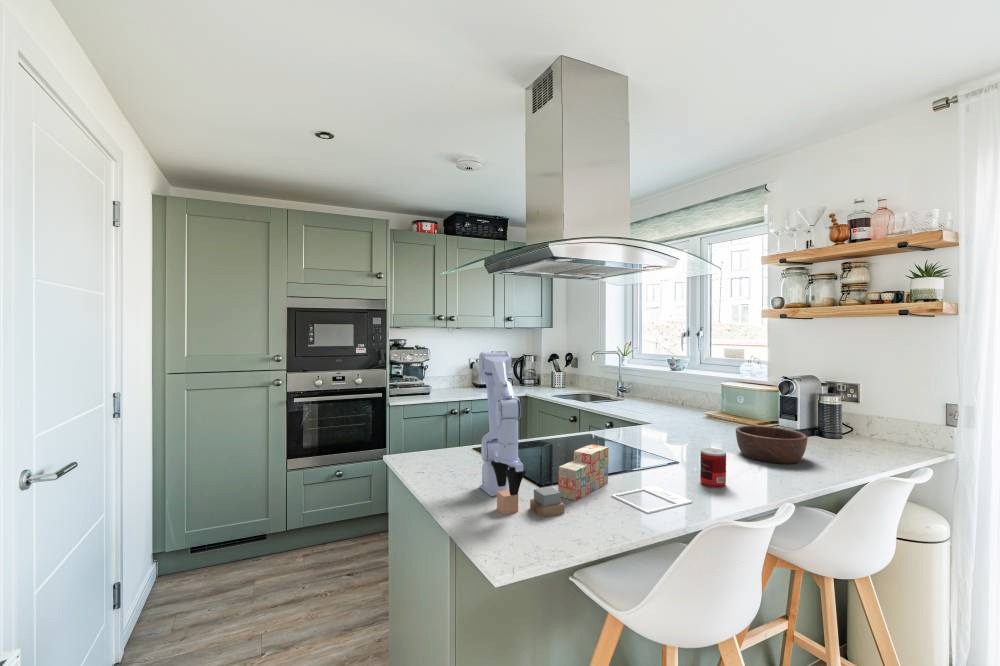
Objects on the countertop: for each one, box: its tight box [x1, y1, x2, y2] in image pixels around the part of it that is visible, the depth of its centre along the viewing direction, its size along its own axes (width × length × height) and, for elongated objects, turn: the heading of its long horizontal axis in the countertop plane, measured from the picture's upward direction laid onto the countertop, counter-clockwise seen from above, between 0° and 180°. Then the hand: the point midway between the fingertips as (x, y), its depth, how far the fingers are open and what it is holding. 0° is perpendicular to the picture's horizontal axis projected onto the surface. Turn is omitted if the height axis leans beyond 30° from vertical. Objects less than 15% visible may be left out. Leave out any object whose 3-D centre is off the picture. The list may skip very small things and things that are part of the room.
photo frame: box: [611, 485, 693, 515], centre depth 138 cm, size 15×1×18 cm
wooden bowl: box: [735, 425, 808, 464], centre depth 186 cm, size 25×25×10 cm
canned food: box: [700, 447, 727, 489], centre depth 153 cm, size 8×8×11 cm
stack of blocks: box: [557, 443, 609, 502], centre depth 146 cm, size 21×6×12 cm, turn 140°
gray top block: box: [533, 486, 562, 506], centre depth 129 cm, size 6×6×3 cm
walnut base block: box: [529, 498, 566, 518], centre depth 129 cm, size 7×7×3 cm
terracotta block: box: [496, 489, 519, 515], centre depth 129 cm, size 4×4×5 cm
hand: (507, 490), depth 129 cm, fingers open, 7 cm apart
